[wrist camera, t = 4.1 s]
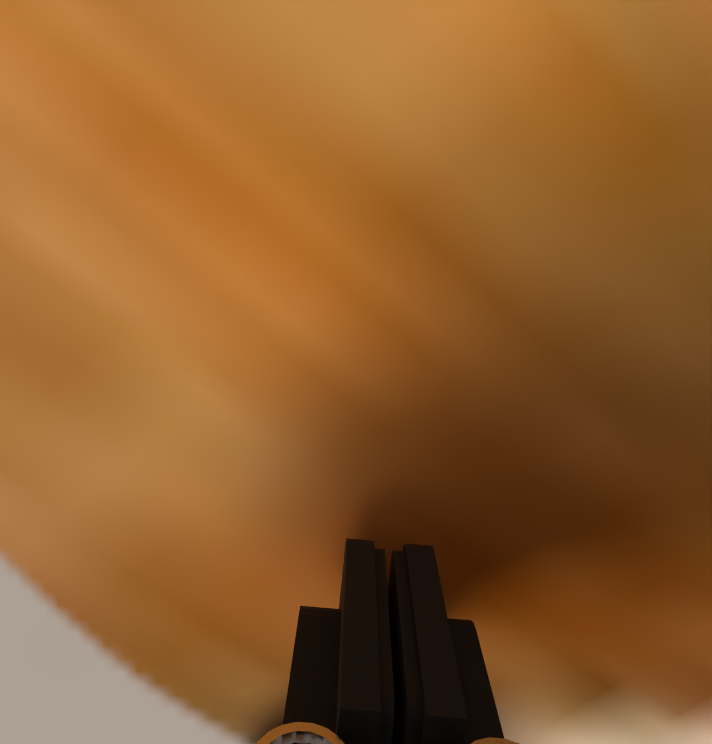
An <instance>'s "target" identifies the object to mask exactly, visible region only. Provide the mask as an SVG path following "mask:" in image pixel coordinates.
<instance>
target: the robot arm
mask: <svg viewBox="0 0 712 744" xmlns="http://www.w3.org/2000/svg"><path fill="white" fill-rule="evenodd" d="M257 744H519V743H516V742H513V741H510V740H507V739H504V736H503V732H502V728H501V724H500V720H499V717H498V713H497V709H496V705H495V701H494V697H493V693H492V690H491V686H490V682H489V678H488V674H487V670H486V666H485V663H484V659H483V655H482V651H481V647H480V643H479V639H478V636H477V632H476V628H475V625H474V623H473V622H472V621H471V620H461V619H449V618H447V614H446V609H445V604H444V599H443V594H442V589H441V584H440V579H439V574H438V569H437V564H436V559H435V554H434V549H433V547H432V546H426V545H414V544H404V546H403V550H402V551H395V550H393V552H392V557H391V565H390V573H389V580H388V588H387V576H386V561H385V550H384V549H375V545H374V541H369V540H357V539H346V546H345V555H344V565H343V575H342V585H341V594H340V604H339V609H331V608H319V607H308V606H300V611H299V617H298V624H297V631H296V638H295V645H294V652H293V659H292V666H291V672H290V679H289V686H288V693H287V700H286V707H285V714H284V721H283V725H281V726H279V727H277V728H275V729H273V730H271V731H269V732H268V733H267V734H266V735H264V736H263V737H262V738H261V739H260V740H259V741H258V742H257Z"/></svg>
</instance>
